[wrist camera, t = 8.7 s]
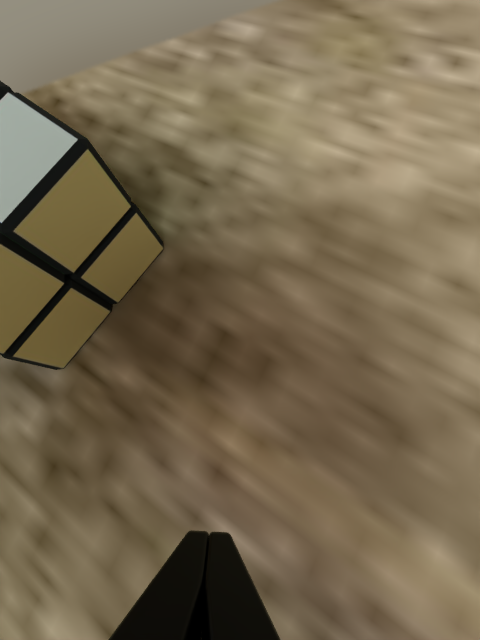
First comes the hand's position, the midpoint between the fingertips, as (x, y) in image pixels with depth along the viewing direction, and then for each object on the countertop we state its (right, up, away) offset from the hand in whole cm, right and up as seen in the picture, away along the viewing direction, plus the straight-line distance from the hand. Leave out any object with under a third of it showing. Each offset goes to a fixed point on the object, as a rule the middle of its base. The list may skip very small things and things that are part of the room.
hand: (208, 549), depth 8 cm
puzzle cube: (-11, +8, +18) cm, 22 cm away
